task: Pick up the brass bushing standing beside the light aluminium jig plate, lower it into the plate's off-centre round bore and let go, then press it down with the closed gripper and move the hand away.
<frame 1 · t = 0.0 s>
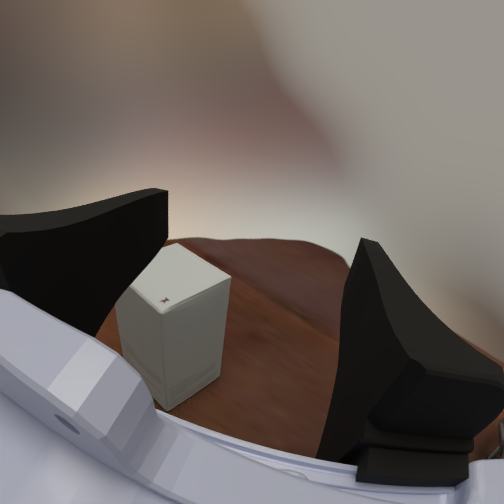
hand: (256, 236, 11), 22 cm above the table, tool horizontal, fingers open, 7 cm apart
supplement box: (171, 374, 31), on the table
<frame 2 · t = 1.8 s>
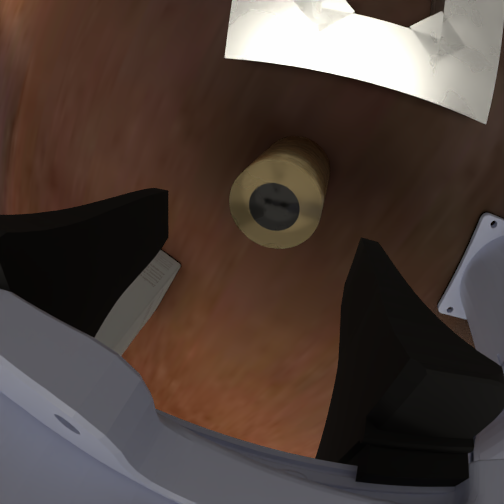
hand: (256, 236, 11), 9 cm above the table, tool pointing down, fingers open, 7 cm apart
supplement box: (135, 264, 27), on the table
bushing: (296, 168, 19), on the table
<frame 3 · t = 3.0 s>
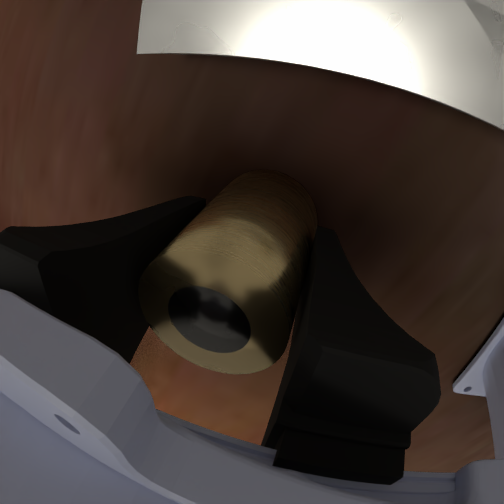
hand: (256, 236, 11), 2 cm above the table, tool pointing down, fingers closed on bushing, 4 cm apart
bushing: (266, 218, 13), on the table, touching gripper
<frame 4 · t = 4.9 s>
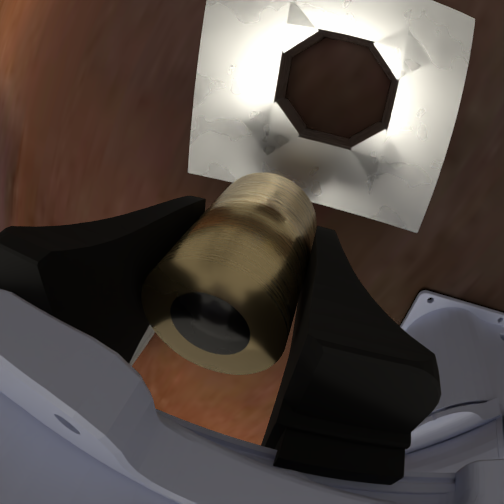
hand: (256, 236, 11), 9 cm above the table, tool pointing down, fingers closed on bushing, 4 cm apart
bushing: (266, 220, 13), point 7 cm above the table, touching gripper
jig: (337, 87, 16), on the table
when the fingers open (3 cm above the table, at t = 6.6 s): bushing drops 2 cm, resting in jig.
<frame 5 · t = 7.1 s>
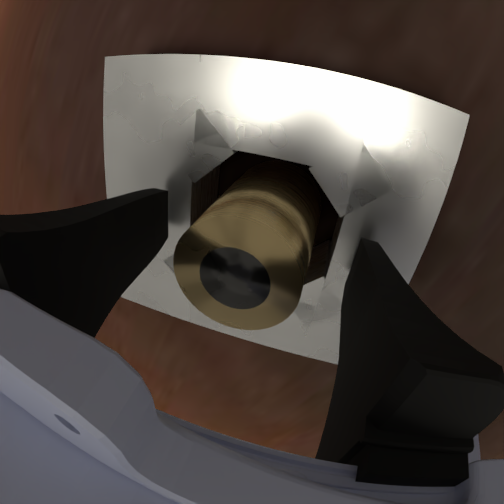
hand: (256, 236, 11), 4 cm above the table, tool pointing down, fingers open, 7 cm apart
bushing: (277, 203, 14), resting in jig
jig: (277, 200, 14), on the table
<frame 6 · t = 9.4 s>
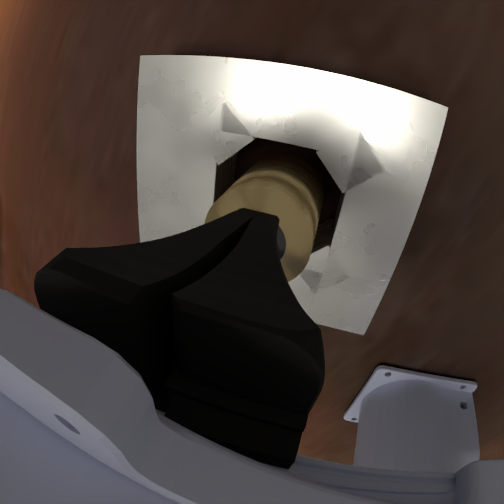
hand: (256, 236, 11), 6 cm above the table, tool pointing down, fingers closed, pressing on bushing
bushing: (287, 186, 16), resting in jig, touching gripper
jig: (287, 183, 16), on the table
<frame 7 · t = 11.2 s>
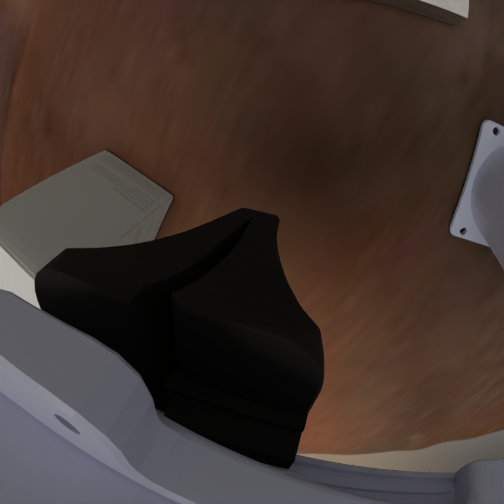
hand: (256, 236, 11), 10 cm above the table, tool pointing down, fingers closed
supplement box: (127, 204, 25), on the table
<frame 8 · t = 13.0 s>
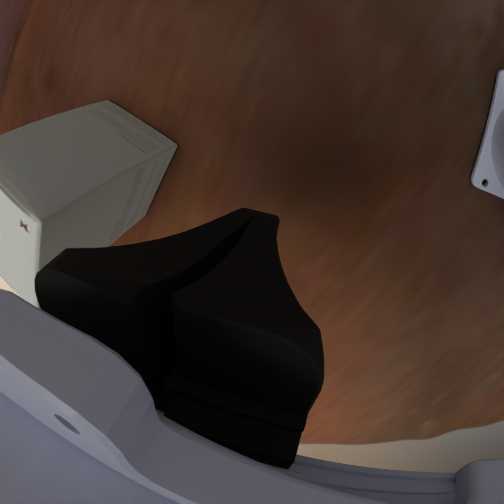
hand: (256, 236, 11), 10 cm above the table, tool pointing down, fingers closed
supplement box: (127, 158, 23), on the table
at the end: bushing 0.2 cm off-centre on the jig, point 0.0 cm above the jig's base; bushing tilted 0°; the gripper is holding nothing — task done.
